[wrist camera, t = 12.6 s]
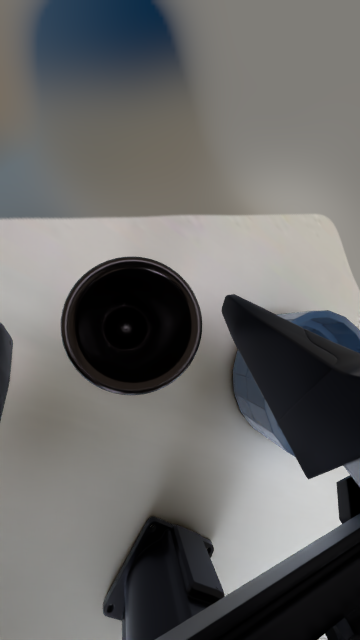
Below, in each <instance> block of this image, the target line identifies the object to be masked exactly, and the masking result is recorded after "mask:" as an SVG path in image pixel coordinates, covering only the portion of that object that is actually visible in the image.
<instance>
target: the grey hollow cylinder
mask: <svg viewBox="0 0 360 640" xmlns="http://www.w3.org/2000/svg"><path fill="white" fill-rule="evenodd" d="M201 334H202V317H201V311H200V307H199V304H198V301H197V299H196V297H195V294H194V293H193V291H192V289H191V288H190V286H189V285H188V284H187V282H186V281H185V280H184V279H183V278H182V277H181V276H180V275H179V274H178V273H177V272H175V271H174V270H173V269H171V268H170V267H168V266H166V265H164V264H162V263H160V262H158V261H155V260H152V259H148V258H142V257H121V258H116V259H112V260H108V261H106V262H103V263H101V264H99V265H97V266H95V267H94V268H92V269H91V270H89V271H88V272H87V273H85V274H84V275H83V276H82V277H81V278H80V279H79V280H78V281H77V283H76V284H75V285H74V286H73V288H72V289H71V291H70V293H69V295H68V297H67V299H66V301H65V304H64V307H63V311H62V316H61V336H62V342H63V345H64V348H65V351H66V354H67V356H68V358H69V360H70V361H71V363H72V364H73V366H74V367H75V368H76V370H77V371H78V372H79V373H80V374H81V375H82V376H83V377H84V378H85V379H86V380H88V381H89V382H90V383H92V384H94V385H95V386H97V387H99V388H101V389H103V390H106V391H109V392H112V393H116V394H122V395H141V394H146V393H150V392H154V391H157V390H159V389H161V388H163V387H165V386H167V385H169V384H170V383H172V382H173V381H175V380H176V379H177V378H178V377H179V376H181V375H182V374H183V373H184V371H185V370H186V369H187V368H188V366H189V365H190V364H191V362H192V360H193V359H194V357H195V355H196V353H197V350H198V347H199V344H200V340H201Z"/></svg>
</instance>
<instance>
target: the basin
mask: <svg viewBox="0 0 360 640" xmlns="http://www.w3.org/2000/svg"><path fill="white" fill-rule="evenodd" d="M277 315H278V316H280V317H282V318H284V319H286V320H288V321H290V322H292V323H294V324H296V325H298V326H300V327H302V328H303V329H306V330H309V331H311V332H313V333H315V334H317V335H319V336H321V337H323V338H325V339H328V340H330V341H332V342H334V343H337V344H339V345H341V346H344V347H346V348H348V349H351V350H353V351H355V352H358V353H360V330H359V329H358V328H357V327H356V326H355V325H354V324H353V323H351V322H350V321H349V320H348V319H347V318H346V317H344V316H341V315H339V314H336V313H334V312H331V311H328V310H327V311H306V312H297V313H287V314H277ZM233 383H234V394H235V397H236V400H237V403H238V405H239V408H240V411H241V413H242V415H243V416H244V417H245V418H246V420H247V421H248V422H249V424H250V425H251V426H252V427H253V428H254V429H256V430H257V431H258V432H260V433H261V434H263V435H264V436H265V437H267V438H268V439H270V440H271V441H272V442H274V443H275V444H277V445H278V446H279V447H281V448H282V449H284V450H285V451H286V452H288V453H290V454H291V455H293V456H295V455H294V453H293V451H292V449H291V447H290V445H289V444H288V442H287V440H286V438H285V436H284V434H283V432H282V431H281V429H280V427H279V425H278V423H277V421H276V419H275V417H274V415H273V414H272V412H271V410H270V408H269V406H268V404H267V402H266V400H265V399H264V397H263V395H262V393H261V391H260V389H259V387H258V385H257V384H256V382H255V380H254V378H253V376H252V374H251V372H250V371H249V369H248V367H247V365H246V363H245V361H244V359H243V357H242V356H241V354H240V352H239V350H238V352H237V354H236V359H235V363H234V368H233Z"/></svg>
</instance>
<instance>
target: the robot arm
mask: <svg viewBox="0 0 360 640" xmlns="http://www.w3.org/2000/svg"><path fill="white" fill-rule="evenodd" d="M222 314H223V317H224V319H225V322H226V324H227V326H228V329H229V331H230V334H231V336H232V339H233V341H234V343H235V344H236V346H237V348H238V350H239V352H240V354H241V356H242V357H243V359H244V361H245V363H246V365H247V367H248V369H249V371H250V372H251V374H252V376H253V378H254V380H255V382H256V384H257V385H258V387H259V389H260V391H261V393H262V395H263V397H264V399H265V400H266V402H267V404H268V406H269V408H270V410H271V412H272V414H273V415H274V417H275V419H276V421H277V423H278V425H279V427H280V429H281V431H282V432H283V434H284V436H285V438H286V440H287V442H288V444H289V445H290V447H291V449H292V451H293V453H294V455H295V457H296V459H297V460H298V462H299V464H300V466H301V468H302V470H303V472H304V473H305V475H306V477H307V478H308V479H311V478H313V477H316V476H318V475H321V474H323V473H325V472H328V471H330V470H333V469H335V468H338V467H340V466H342V465H343V466H344V467H345V468H346V470H347V471H348V472H349V474H350V476H348V477H346V478H344V479H342V480H340V481H338V482H337V494H338V508H339V519H340V521H341V522H342V525H340V526H339V527H337V528H335V529H334V530H332V531H331V532H329V533H327V534H326V535H324V536H322V537H321V538H319V539H318V540H316V541H314V542H313V543H311V544H309V545H308V546H306V547H305V548H303V549H301V550H300V551H298V552H297V553H295V554H293V555H292V556H290V557H288V558H287V559H285V560H284V561H282V562H280V563H279V564H277V565H275V566H274V567H272V568H271V569H269V570H267V571H266V572H264V573H262V574H261V575H259V576H258V577H256V578H254V579H253V580H251V581H249V582H248V583H246V584H245V585H243V586H241V587H240V588H238V589H236V590H235V591H233V592H232V593H230V594H228V595H227V596H224V592H223V589H222V586H221V584H220V581H219V579H218V576H217V574H216V571H215V569H214V567H213V564H212V562H211V559H210V558H211V556H212V554H213V551H214V547H213V545H212V543H211V541H210V540H209V539H206V538H204V537H202V536H201V535H200V534H198V533H195V532H193V531H191V530H188V529H186V528H184V527H181V526H179V525H173V524H171V523H168V522H166V521H163V520H161V519H159V518H156V517H151V518H149V519H148V520H147V522H146V524H145V526H144V527H143V529H142V531H141V533H140V535H139V537H138V539H137V540H136V542H135V544H134V546H133V548H132V550H131V552H130V553H129V555H128V557H127V559H126V561H125V563H124V565H123V566H122V568H121V570H120V572H119V574H118V576H117V578H116V579H115V581H114V583H113V585H112V587H111V589H110V591H109V593H108V594H107V596H106V598H105V600H104V605H103V613H104V615H105V616H107V617H111V618H114V619H118V620H122V640H317V639H319V638H320V637H321V636H322V635H324V634H326V636H327V638H328V640H360V353H358V352H355V351H353V350H351V349H348V348H346V347H344V346H341V345H339V344H337V343H334V342H332V341H330V340H328V339H325V338H323V337H321V336H319V335H317V334H315V333H313V332H311V331H309V330H306V329H303V328H302V327H300V326H298V325H296V324H294V323H292V322H290V321H288V320H286V319H284V318H282V317H280V316H278V315H276V314H274V313H272V312H270V311H268V310H266V309H264V308H262V307H260V306H257V305H255V304H253V303H251V302H249V301H247V300H245V299H243V298H241V297H239V296H237V295H235V294H232V295H227V296H226V297H225V300H224V303H223V306H222ZM12 348H13V341H12V338H11V336H10V335H9V333H8V332H7V330H6V329H5V327H4V326H3V324H2V323H0V421H1V417H2V412H3V408H4V404H5V399H6V395H7V391H8V386H9V381H10V372H11V360H12ZM152 525H154V526H153V527H151V526H152ZM111 604H112V605H111Z"/></svg>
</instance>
